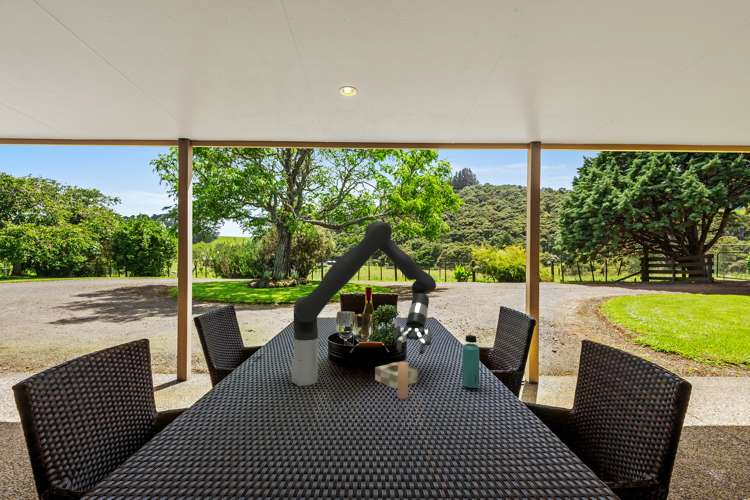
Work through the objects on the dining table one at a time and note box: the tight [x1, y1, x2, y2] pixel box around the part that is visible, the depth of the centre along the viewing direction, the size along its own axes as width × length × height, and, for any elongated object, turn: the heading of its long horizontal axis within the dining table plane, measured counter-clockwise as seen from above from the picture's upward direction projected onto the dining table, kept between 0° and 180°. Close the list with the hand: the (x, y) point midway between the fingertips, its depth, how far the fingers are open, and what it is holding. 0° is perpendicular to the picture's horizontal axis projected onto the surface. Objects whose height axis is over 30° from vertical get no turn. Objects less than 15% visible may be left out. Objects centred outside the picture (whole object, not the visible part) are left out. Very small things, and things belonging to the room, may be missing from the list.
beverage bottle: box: [461, 334, 481, 389], centre depth 140 cm, size 6×7×20 cm
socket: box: [374, 361, 419, 390], centre depth 147 cm, size 12×12×5 cm
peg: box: [397, 361, 409, 400], centre depth 131 cm, size 4×4×12 cm
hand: (409, 352), depth 140 cm, fingers open, 8 cm apart
